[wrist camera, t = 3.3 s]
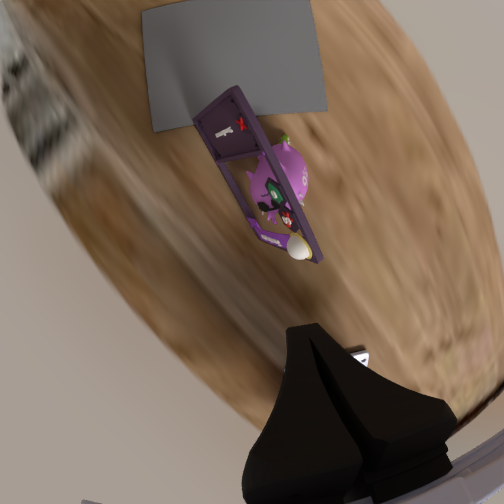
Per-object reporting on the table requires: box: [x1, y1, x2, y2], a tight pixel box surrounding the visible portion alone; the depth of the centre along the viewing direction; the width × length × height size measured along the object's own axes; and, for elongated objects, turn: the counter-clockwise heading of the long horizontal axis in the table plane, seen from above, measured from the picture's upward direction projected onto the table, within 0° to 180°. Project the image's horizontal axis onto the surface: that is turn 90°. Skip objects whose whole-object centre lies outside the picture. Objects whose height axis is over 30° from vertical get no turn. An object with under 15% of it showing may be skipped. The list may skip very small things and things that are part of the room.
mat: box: [142, 0, 328, 133], centre depth 15 cm, size 9×11×1 cm
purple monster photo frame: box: [192, 85, 324, 264], centre depth 16 cm, size 7×5×9 cm
